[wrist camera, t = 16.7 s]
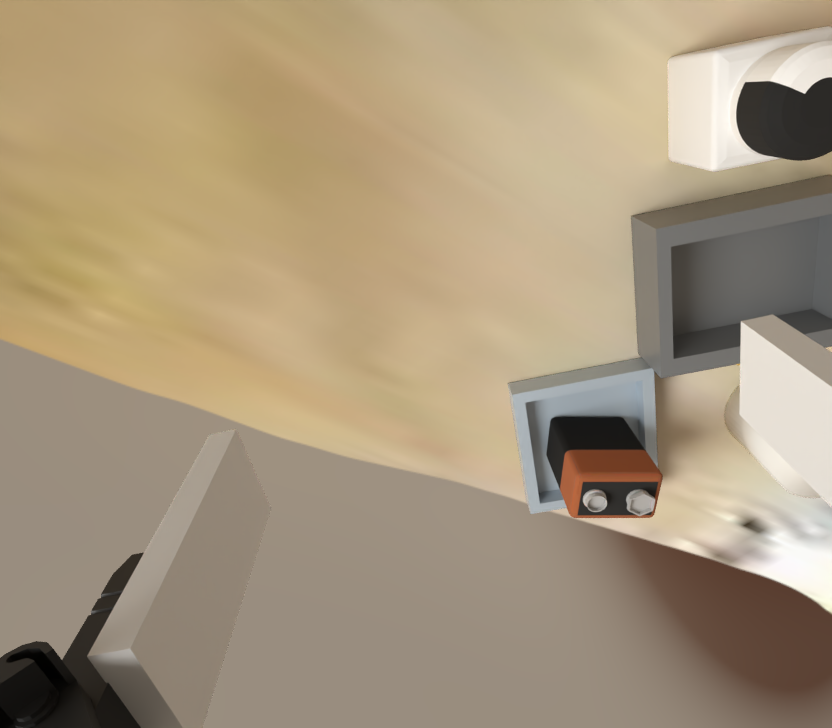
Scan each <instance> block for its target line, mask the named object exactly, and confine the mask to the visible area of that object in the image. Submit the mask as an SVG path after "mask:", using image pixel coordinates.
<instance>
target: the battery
mask: <svg viewBox="0 0 832 728" xmlns="http://www.w3.org/2000/svg"><path fill="white" fill-rule="evenodd" d="M546 456H547V458H548V461H549V463H550V466H551V468H552V471H553V474H554V476H555V479H556V481H557V484H558V486H559V489H560V491H561V494H562V496H563V499H564V501H565V504H566V506H567V509H568V512H569V514H570V515H571V516H572V517H574V518H650V517H652V516H653V515H654V513H655V509H656V504H657V500H658V495H659V491H660V487H661V482H662V477H663V476H662V474H661V472H660V471H659V469H658V468H657V466H656V465H655V463H654V462H653V460H652V459H651V457H650V456H649V455H648V453H647V452H646V450H645V449H644V447H643V446H642V444H641V443H640V441H639V440H638V438H637V437H636V435H635V434H634V433H633V431H632V430H631V428H630V427H629V425H628V424H627V422H626V421H625V420H624V419H623V418H622V417H554V418H552V419H551V421H550V427H549V435H548V444H547V452H546Z"/></svg>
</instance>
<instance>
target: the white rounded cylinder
mask: <svg viewBox="0 0 832 728" xmlns="http://www.w3.org/2000/svg"><path fill="white" fill-rule="evenodd" d="M739 410H740V385H739V386H738V387H737V388H736V389H735V390H734V392H733V393H732V394H731V396H730V398H729V400H728V402H727V404H726V408H725V414H724V418H725V424H726V427H727V429H728V431H729V432H730V433H731V435H732V436H733V437H734V438H735V439H736V440H737V441H738V442H739V443H740V444H741V445H742V446H743V447H744V448H745V449H746V450H747V451H748V452H749V453H750V454H751V455H752V456H753V457H754V458H755V459H756V460H757V461H758V462H759V464H760V465H761V466H762V467H763V468H764V469H765V470H766V471H767V472H768V473H769V474H770V475H771V476H772V477H773V478H774V479H775V480H776V481H777V482H778V483H779V484H780V485H781V486H782V487H783V488H784V489H785V490H786V491H788V492H789V493H791V494H793V495H796V496H800V497H805V498H818V497H821V496H820V495H819V494H818V493H817V492H816V491H815V490H814V489H813V488H812V487H811V486H810V485H809V484H808V483H807V482H806V481H805V480H804V479H803V478H802V477H801V476H800V475H799V474H798V473H797V472H796V471H795V470H794V469H793V468H792V467H791V466H790V465H789V464H788V463H787V462H786V461H785V460H784V459H783V458H782V457H781V456H780V455H779V454H778V453H777V452H776V451H775V450H774V449H773V448H772V447H771V446H770V445H769V444H768V443H767V442H766V441H765V440H764V439H763V438H762V437H761V436H760V435H759V434H758V433H757V432H756V431H755V430H754V429H753V428H752V427H751V426H750V425H749V424H748V423H747V422H746V421H745V420H744V419H743V418H742V417H741V416H740V415H739Z"/></svg>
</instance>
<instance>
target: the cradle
mask: <svg viewBox="0 0 832 728" xmlns="http://www.w3.org/2000/svg"><path fill="white" fill-rule="evenodd" d="M631 224H632V244H633V263H634V283H635V302H636V322H637V342H638V354H639V355H640V356H641V357H642V358H643V359H644V360H645V361H646V362H647V363H648V365H649V366H650V367H651V368H652V369H653V370H654V371H655V372H656V373H657V374H658V376H659V377H660V378H666V377H671V376H677V375H682V374H687V373H693V372H698V371H703V370H708V369H714V368H719V367H724V366H730V365H735V364H737V365H740V344H741V321H744V320H749V319H754V318H758V317H763V316H768V315H772V314H773V315H774V316H776V317H778V318H779V319H781V320H782V321H784V322H785V323H787V324H788V325H790V326H792V327H793V328H795V329H796V330H798V331H799V332H801V333H802V334H804V335H806V336H807V337H809V338H810V339H812V340H813V341H815V342H816V343H818V344H820V345H821V346H823V347H824V348H825V347H830V346H832V176H831V175H825V176H820V177H816V178H811V179H806V180H801V181H796V182H792V183H787V184H782V185H777V186H772V187H768V188H763V189H758V190H753V191H748V192H744V193H739V194H734V195H729V196H725V197H720V198H715V199H710V200H705V201H701V202H696V203H691V204H686V205H681V206H677V207H672V208H667V209H662V210H657V211H653V212H648V213H643V214H638V215H633V216H631Z"/></svg>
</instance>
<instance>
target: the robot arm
mask: <svg viewBox="0 0 832 728" xmlns="http://www.w3.org/2000/svg"><path fill="white" fill-rule="evenodd" d="M739 415H740V416H741V417H742V418H743V419H744V420H745V421H746V422H747V423H748V424H749V425H750V426H751V427H752V428H753V429H754V430H755V431H756V432H757V433H758V434H759V435H760V436H761V437H762V438H763V439H764V440H765V441H766V442H767V443H768V444H769V445H770V446H771V447H772V448H773V449H774V450H775V451H776V452H777V453H778V454H779V455H780V456H781V457H782V458H783V459H784V460H785V461H786V462H787V463H788V464H789V465H790V466H791V467H792V468H793V469H794V470H795V471H796V472H797V473H798V474H799V475H800V476H801V477H802V478H803V479H804V480H805V481H806V482H807V483H808V484H809V485H810V486H811V487H812V488H813V489H814V490H815V491H816V492H817V493H818V494H819V495H820V496H821V497H822V498H823V499H824V500H825V501H826V502H827V503H828V504H829V505H830V506H831V507H832V352H830V351H829V350H827V349H826V348H824V347H823V346H821V345H820V344H818V343H816V342H815V341H813V340H812V339H810V338H809V337H807V336H806V335H804V334H802V333H801V332H799V331H798V330H796V329H795V328H793V327H792V326H790V325H788V324H787V323H785V322H784V321H782V320H781V319H779V318H778V317H776V316H774V315H773V314H772V315H768V316H763V317H758V318H754V319H749V320H744V321H741V344H740V410H739ZM270 511H271V507H270V504H269V502H268V499H267V497H266V495H265V493H264V490H263V488H262V486H261V484H260V481H259V479H258V477H257V474H256V472H255V470H254V468H253V465H252V463H251V461H250V459H249V456H248V454H247V452H246V450H245V447H244V445H243V443H242V440H241V438H240V436H239V433H238V431H237V429H233V430H229V431H224V432H220V433H215V434H210V435H209V436H208V438H207V440H206V442H205V443H204V445H203V447H202V449H201V451H200V452H199V454H198V456H197V458H196V460H195V462H194V463H193V465H192V467H191V469H190V471H189V472H188V474H187V476H186V478H185V480H184V481H183V483H182V485H181V487H180V489H179V490H178V493H177V494H176V496H175V498H174V500H173V501H172V503H171V505H170V507H169V509H168V510H167V512H166V514H165V516H164V518H163V520H162V521H161V523H160V525H159V527H158V529H157V530H156V532H155V534H154V536H153V538H152V540H151V542H150V543H149V545H148V547H147V548H146V550H145V552H144V553H139V554H134V555H131V556H130V558H129V559H127V561H126V562H125V563H124V564H123V565H122V566H121V567H120V568H119V569H118V570H117V571H116V572H115V573H114V574H113V575H112V577H111V578H110V580H109V582H108V583H107V585H106V587H105V589H104V590H103V592H102V594H101V598H100V599H98V601H97V602H96V604H95V606H94V607H93V609H92V611H91V615H89V616H88V617H87V619H86V621H85V622H84V624H83V626H82V628H81V629H80V631H79V633H78V634H77V636H76V638H75V639H74V641H73V643H72V644H71V646H70V648H69V649H68V651H67V653H66V655H65V656H64V658H63V660H61V659H60V657H59V656H58V655H57V653H56V652H55V651H54V649H53V648H52V647H51V646H50V645H49V644H48V643H47V642H37V641H36V642H32V643H29V644H25V645H22V646H20V647H18V648H16V649H14V650H12V651H10V652H8V653H6V654H5V655H3V656H2V657H1V658H0V728H203V724H204V721H205V718H206V715H207V712H208V708H209V705H210V702H211V699H212V696H213V693H214V689H215V686H216V683H217V680H218V676H219V673H220V670H221V667H222V664H223V661H224V658H225V654H226V651H227V648H228V645H229V642H230V638H231V635H232V632H233V629H234V625H235V622H236V619H237V616H238V613H239V610H240V606H241V603H242V600H243V597H244V594H245V590H246V587H247V584H248V581H249V578H250V575H251V571H252V568H253V565H254V561H255V558H256V555H257V552H258V549H259V546H260V542H261V539H262V536H263V533H264V530H265V526H266V523H267V520H268V517H269V514H270Z"/></svg>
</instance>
